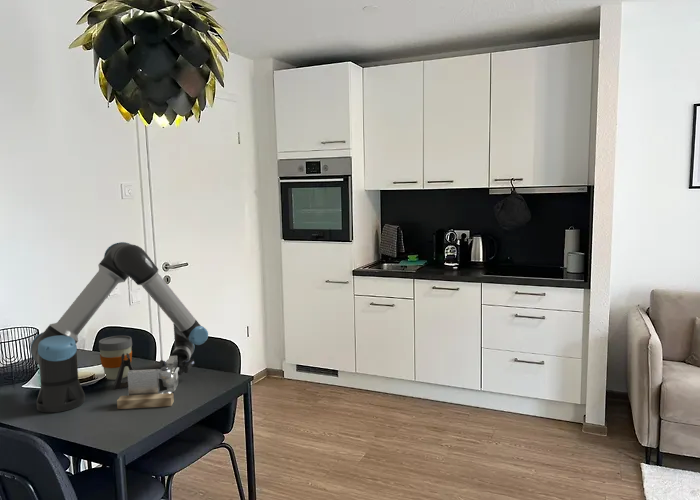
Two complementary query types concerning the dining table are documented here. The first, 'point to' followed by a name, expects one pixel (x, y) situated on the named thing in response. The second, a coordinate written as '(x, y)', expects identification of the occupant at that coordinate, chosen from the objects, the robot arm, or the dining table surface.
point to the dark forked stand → (120, 373)
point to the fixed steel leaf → (147, 381)
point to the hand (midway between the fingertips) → (169, 376)
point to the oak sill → (145, 401)
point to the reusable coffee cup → (114, 354)
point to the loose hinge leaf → (170, 382)
